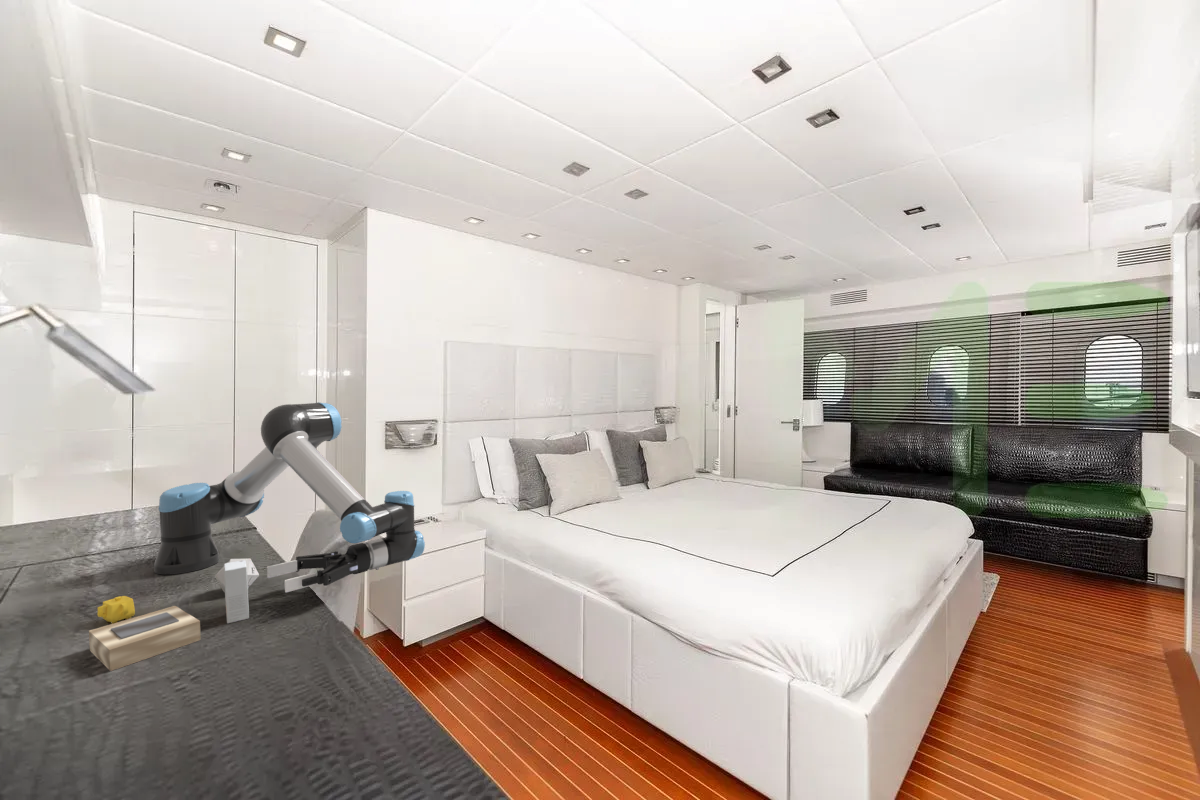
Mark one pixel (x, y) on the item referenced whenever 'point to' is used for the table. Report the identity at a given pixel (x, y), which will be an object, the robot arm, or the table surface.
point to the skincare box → (236, 591)
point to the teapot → (117, 609)
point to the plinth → (143, 637)
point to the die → (251, 573)
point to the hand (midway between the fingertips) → (275, 579)
